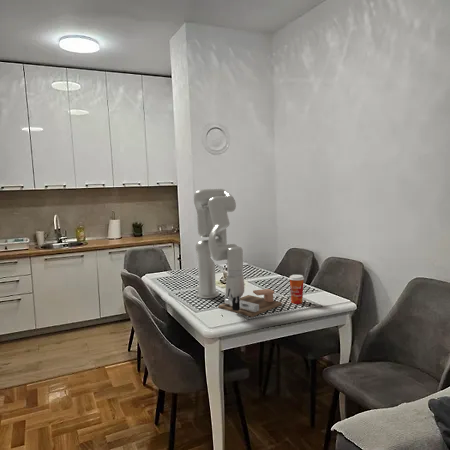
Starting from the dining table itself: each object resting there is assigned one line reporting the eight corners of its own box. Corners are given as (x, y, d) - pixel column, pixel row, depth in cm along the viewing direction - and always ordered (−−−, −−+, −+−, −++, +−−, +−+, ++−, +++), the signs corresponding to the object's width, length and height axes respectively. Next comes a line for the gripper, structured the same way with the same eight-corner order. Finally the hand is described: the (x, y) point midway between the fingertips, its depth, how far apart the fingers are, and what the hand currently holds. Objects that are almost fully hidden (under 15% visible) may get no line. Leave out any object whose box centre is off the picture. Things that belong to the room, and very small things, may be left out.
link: (222, 304, 203) (222, 297, 202) (229, 302, 207) (229, 295, 206) (253, 312, 189) (253, 305, 189) (259, 310, 193) (259, 302, 193)
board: (218, 307, 203) (218, 305, 203) (248, 297, 220) (248, 294, 220) (252, 317, 188) (252, 314, 188) (281, 304, 206) (281, 302, 205)
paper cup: (286, 303, 208) (286, 276, 206) (293, 299, 214) (292, 273, 213) (301, 305, 203) (300, 278, 202) (306, 301, 210) (306, 275, 208)
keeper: (257, 305, 204) (257, 293, 204) (253, 302, 210) (253, 290, 209) (274, 303, 207) (274, 291, 206) (269, 300, 213) (269, 288, 212)
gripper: (237, 268, 199) (238, 304, 201) (219, 274, 187) (220, 313, 189) (250, 270, 195) (250, 307, 197) (233, 276, 183) (233, 315, 185)
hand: (236, 309), depth 193 cm, fingers closed
